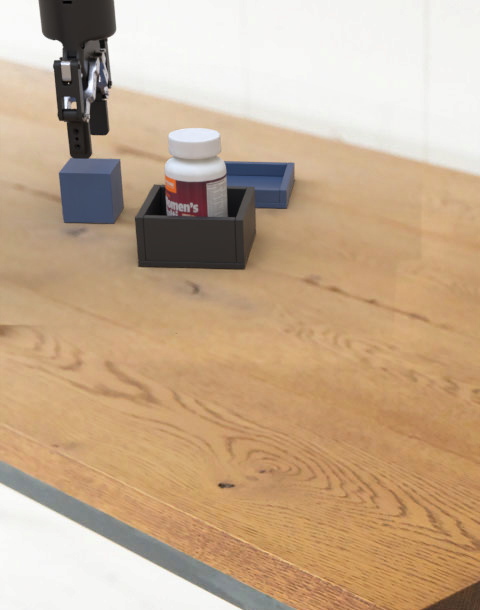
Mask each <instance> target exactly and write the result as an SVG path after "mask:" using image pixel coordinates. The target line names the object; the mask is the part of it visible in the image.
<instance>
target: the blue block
mask: <svg viewBox="0 0 480 610" xmlns="http://www.w3.org/2000/svg"><path fill="white" fill-rule="evenodd" d="M58 180H59V191H60V200H61V212H62V222H63V223H71V224H73V223H74V224H110V225H111V224H115V223H116V221H117V220H118V218H119V216H120V214H121V213H122V211H123V209H124V208H125V203H124V202H125V201H124V191H123V178H122V165H121V158H97V157H96V158H93V157H92V158H91V157H90V158H88V159H74V158H72V157H70V158H69V159H68V160H67V161H66V163H65V164H64V165H63V166H62V168H61V169H60V170H59V172H58Z"/></svg>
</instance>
